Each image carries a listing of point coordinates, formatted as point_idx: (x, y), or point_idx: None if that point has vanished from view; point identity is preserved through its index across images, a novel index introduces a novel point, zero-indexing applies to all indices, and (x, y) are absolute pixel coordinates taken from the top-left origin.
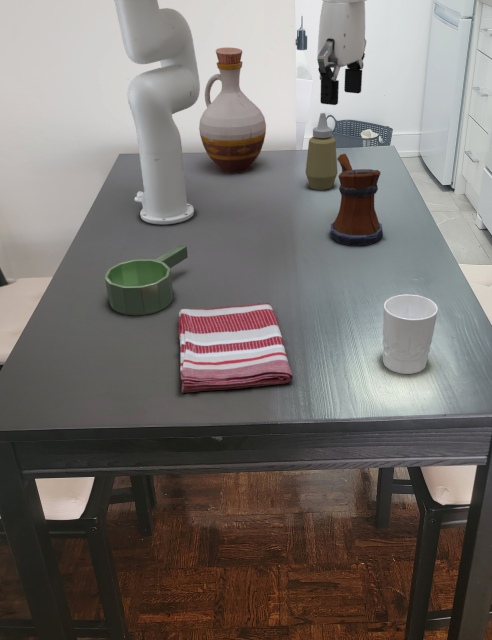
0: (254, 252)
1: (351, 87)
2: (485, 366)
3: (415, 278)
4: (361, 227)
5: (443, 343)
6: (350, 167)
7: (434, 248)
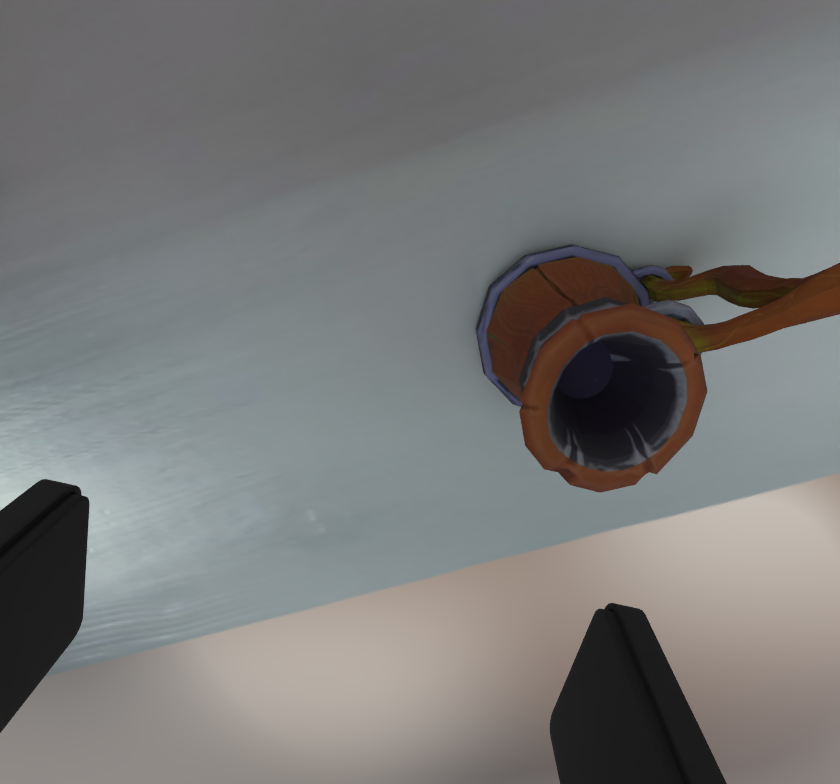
0: (348, 5)
1: (584, 700)
2: None
3: (318, 516)
4: (499, 371)
5: None
6: (743, 336)
7: (511, 542)
